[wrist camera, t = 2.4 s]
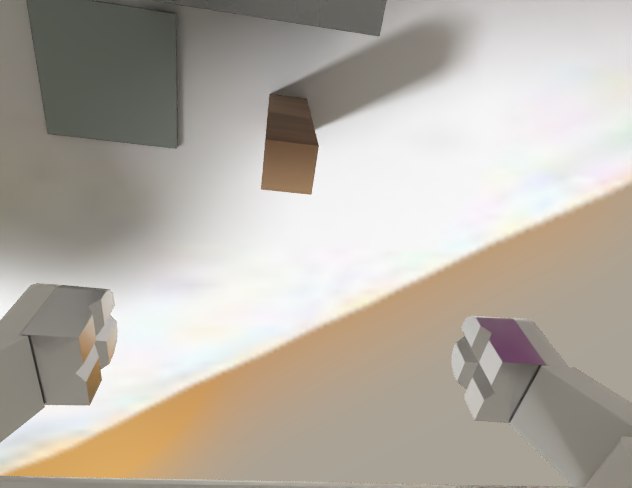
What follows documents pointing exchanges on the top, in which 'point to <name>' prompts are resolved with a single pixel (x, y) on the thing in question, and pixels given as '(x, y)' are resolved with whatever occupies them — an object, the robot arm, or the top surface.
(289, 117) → the brown wooden bar
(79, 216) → the top surface
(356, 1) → the box
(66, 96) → the pad
